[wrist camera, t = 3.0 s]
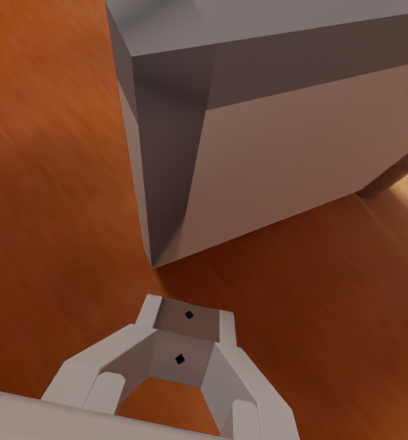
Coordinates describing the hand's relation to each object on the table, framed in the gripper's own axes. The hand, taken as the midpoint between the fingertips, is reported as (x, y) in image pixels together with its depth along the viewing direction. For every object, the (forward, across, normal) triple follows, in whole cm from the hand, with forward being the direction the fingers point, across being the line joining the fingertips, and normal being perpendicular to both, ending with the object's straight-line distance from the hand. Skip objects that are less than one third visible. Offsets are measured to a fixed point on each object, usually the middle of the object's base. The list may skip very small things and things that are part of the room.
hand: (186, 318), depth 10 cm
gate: (+11, -4, -1) cm, 12 cm away
